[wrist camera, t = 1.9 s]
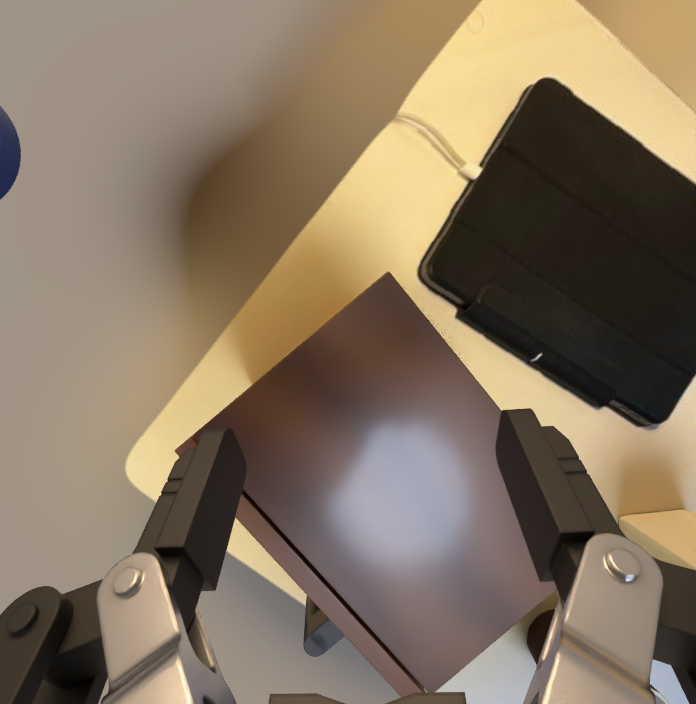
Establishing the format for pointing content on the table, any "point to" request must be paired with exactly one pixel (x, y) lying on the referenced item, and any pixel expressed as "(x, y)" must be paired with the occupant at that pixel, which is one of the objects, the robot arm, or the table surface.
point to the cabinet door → (320, 599)
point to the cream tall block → (664, 535)
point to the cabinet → (391, 482)
